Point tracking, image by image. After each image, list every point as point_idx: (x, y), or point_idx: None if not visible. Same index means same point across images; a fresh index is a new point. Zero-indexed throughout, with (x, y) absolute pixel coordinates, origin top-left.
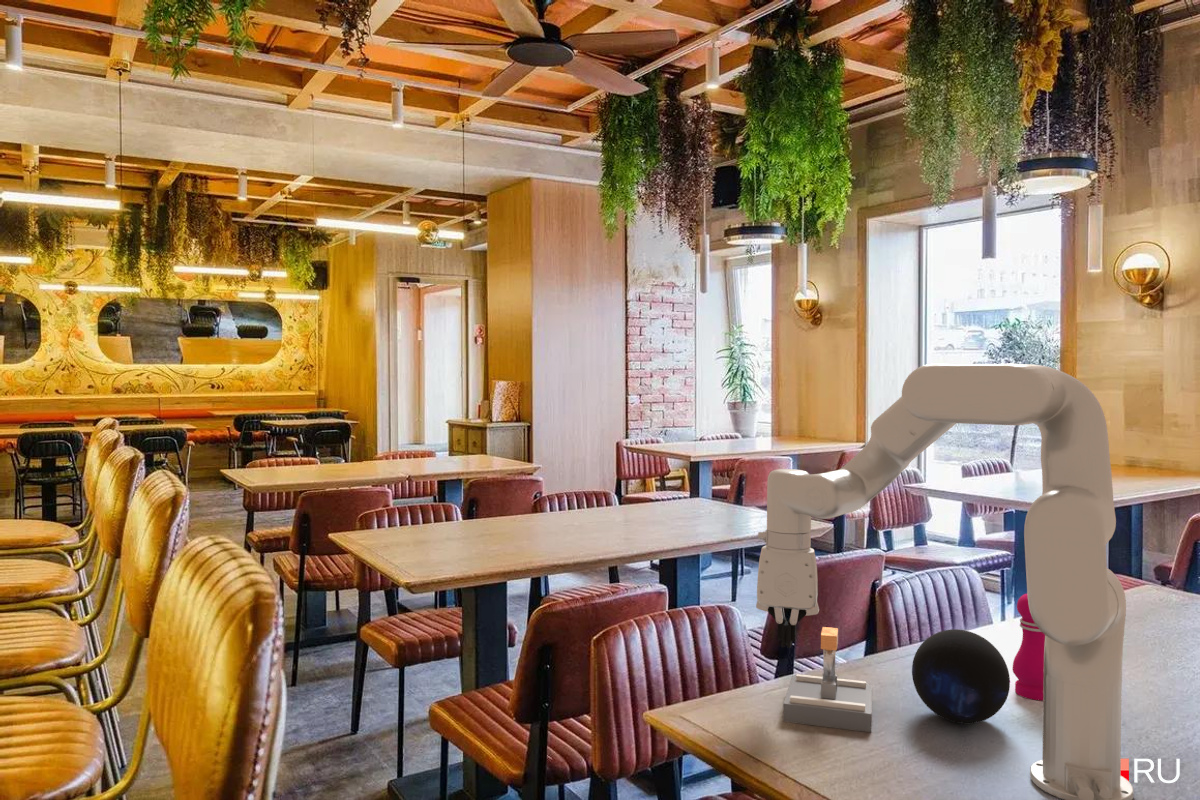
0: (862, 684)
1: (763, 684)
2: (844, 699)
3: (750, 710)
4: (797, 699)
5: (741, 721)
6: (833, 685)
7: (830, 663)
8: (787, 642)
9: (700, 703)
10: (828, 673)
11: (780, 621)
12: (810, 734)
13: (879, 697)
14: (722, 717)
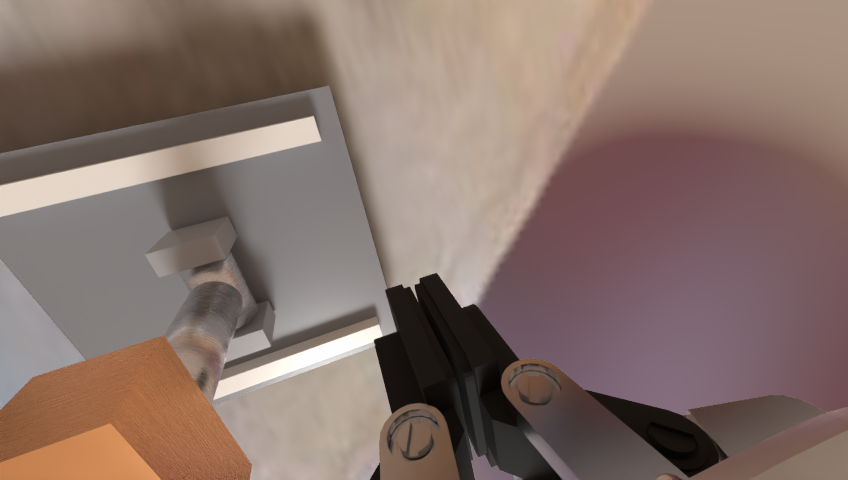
0: None
1: None
2: (146, 259)
3: (444, 124)
4: (284, 123)
5: (441, 16)
6: (156, 250)
7: (170, 335)
8: (407, 295)
9: (574, 99)
10: (196, 301)
11: (519, 380)
12: (188, 12)
13: None
14: (500, 20)
